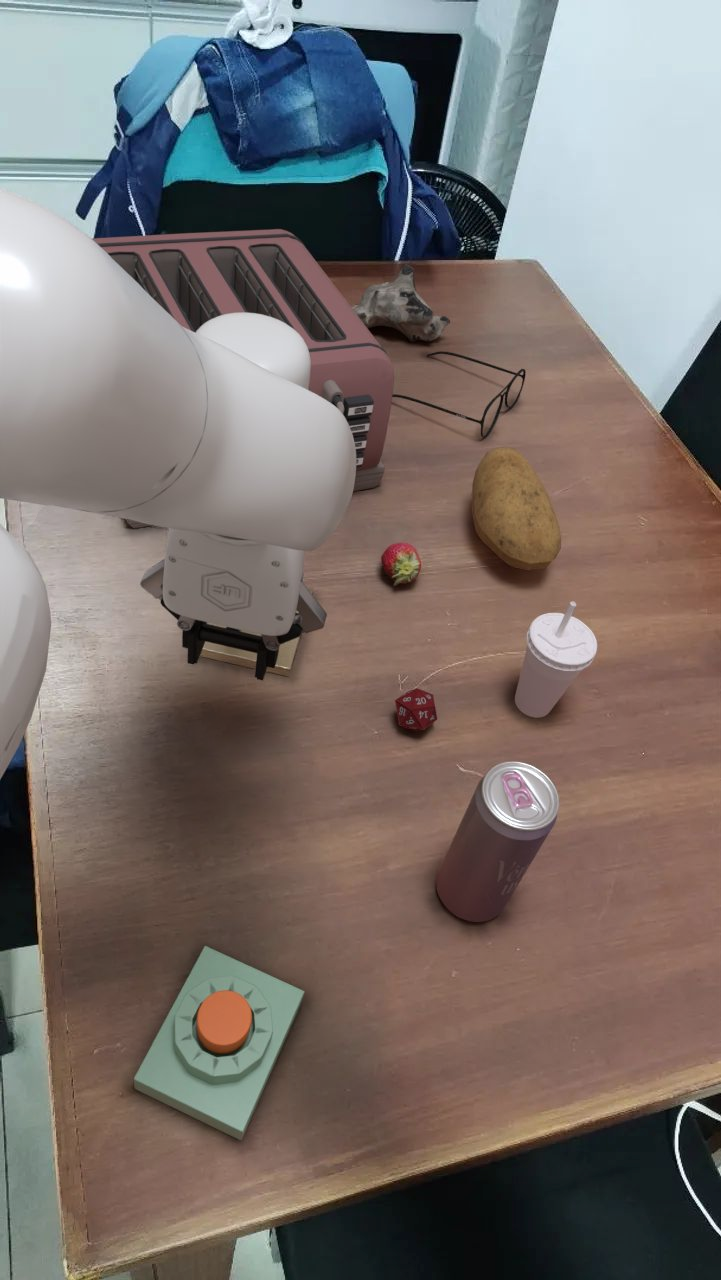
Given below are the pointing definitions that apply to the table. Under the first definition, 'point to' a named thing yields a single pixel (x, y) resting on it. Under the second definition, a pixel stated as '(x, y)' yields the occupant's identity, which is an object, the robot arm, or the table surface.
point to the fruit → (401, 562)
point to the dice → (416, 710)
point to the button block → (213, 1080)
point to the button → (224, 1021)
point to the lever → (229, 637)
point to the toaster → (272, 315)
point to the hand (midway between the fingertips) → (230, 658)
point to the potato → (514, 510)
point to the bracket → (253, 654)
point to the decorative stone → (400, 308)
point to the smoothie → (553, 660)
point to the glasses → (491, 400)
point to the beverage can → (497, 840)
